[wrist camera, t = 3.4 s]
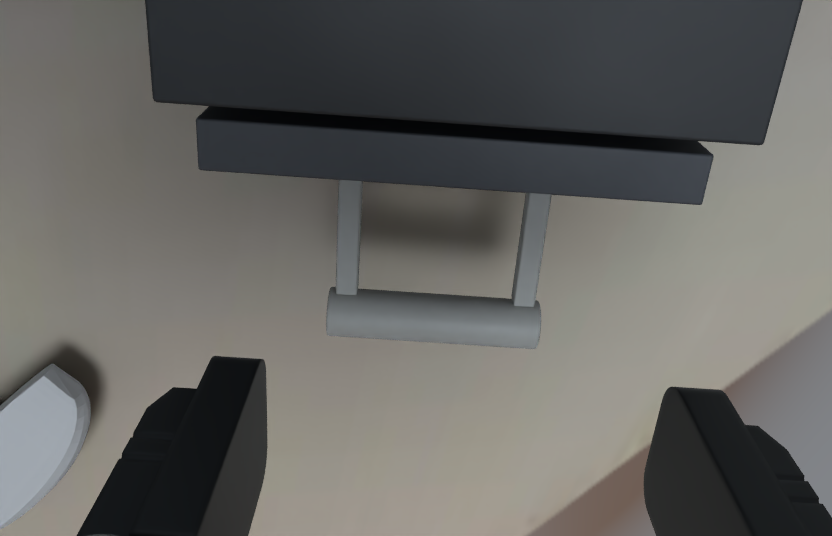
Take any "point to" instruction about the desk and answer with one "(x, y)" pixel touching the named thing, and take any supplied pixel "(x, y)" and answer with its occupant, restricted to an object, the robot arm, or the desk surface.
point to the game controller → (39, 438)
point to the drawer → (456, 168)
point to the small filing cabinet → (485, 61)
